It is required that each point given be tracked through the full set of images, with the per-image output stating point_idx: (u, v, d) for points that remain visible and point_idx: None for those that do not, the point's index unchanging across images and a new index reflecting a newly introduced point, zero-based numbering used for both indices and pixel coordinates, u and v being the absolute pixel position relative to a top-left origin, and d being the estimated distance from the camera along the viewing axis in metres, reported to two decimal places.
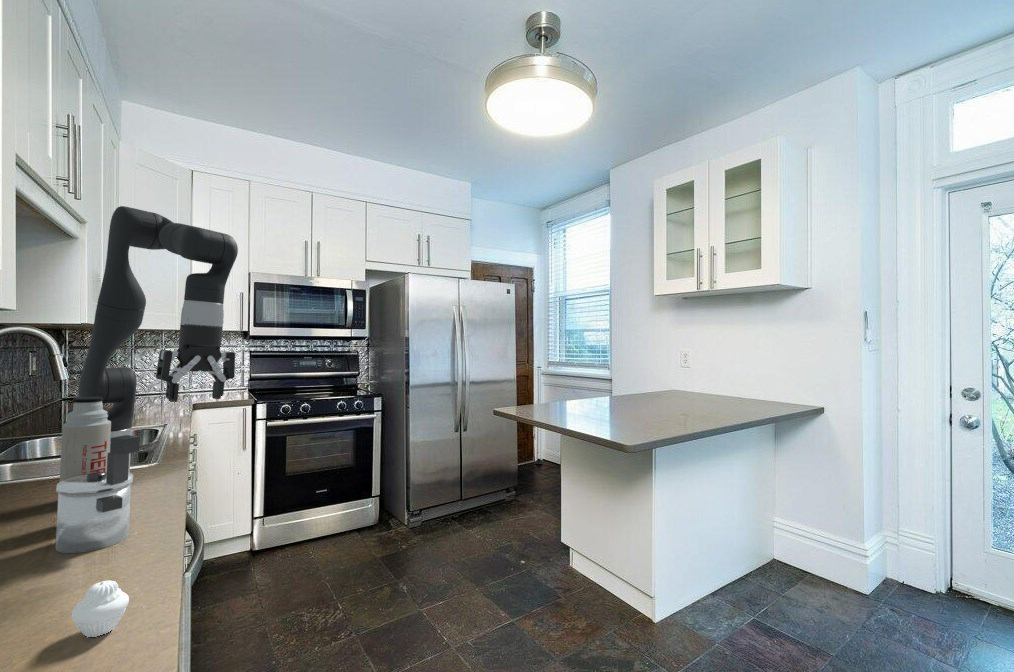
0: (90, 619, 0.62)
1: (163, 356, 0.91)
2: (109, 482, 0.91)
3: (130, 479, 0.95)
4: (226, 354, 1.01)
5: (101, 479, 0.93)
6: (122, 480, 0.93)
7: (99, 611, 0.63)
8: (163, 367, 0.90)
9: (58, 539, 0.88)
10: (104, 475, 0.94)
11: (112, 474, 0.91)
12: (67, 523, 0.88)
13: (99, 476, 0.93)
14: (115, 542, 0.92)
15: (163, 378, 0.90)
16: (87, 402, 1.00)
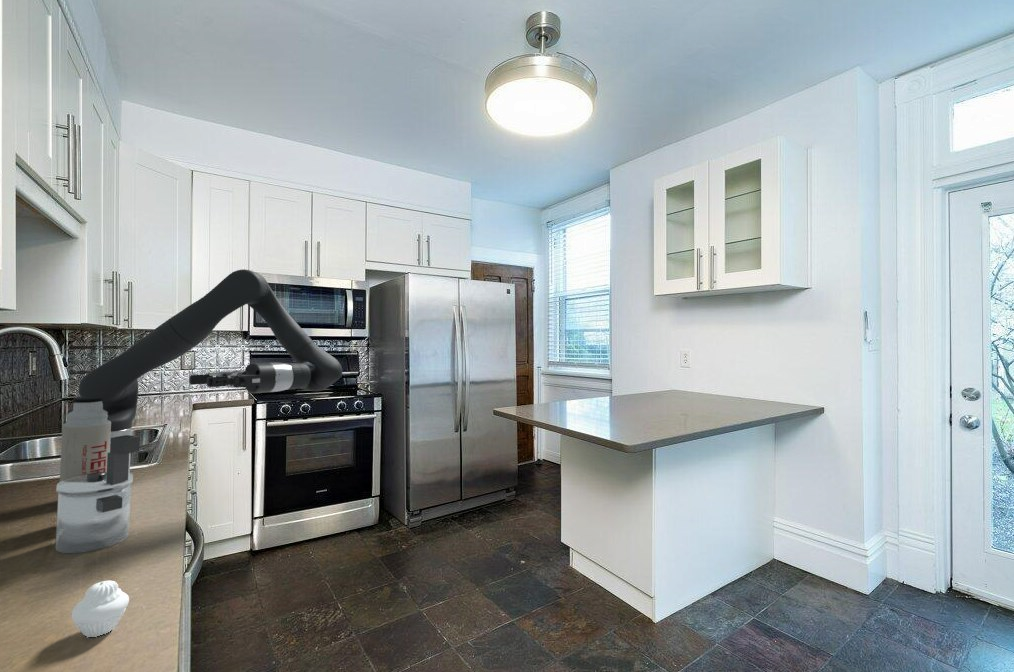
0: (90, 619, 0.62)
1: (255, 382, 1.07)
2: (109, 482, 0.91)
3: (130, 479, 0.95)
4: None
5: (101, 479, 0.93)
6: (122, 480, 0.93)
7: (99, 611, 0.63)
8: (246, 386, 1.06)
9: (58, 539, 0.88)
10: (104, 475, 0.94)
11: (112, 474, 0.91)
12: (67, 523, 0.88)
13: (99, 476, 0.93)
14: (115, 542, 0.92)
15: (236, 387, 1.04)
16: (87, 402, 1.00)
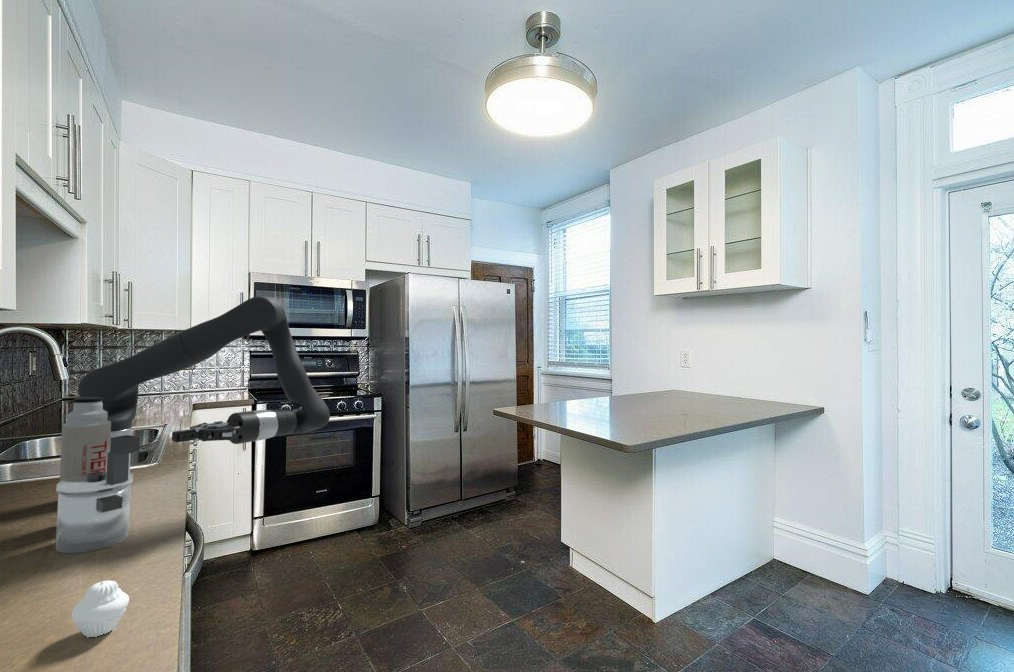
0: (90, 619, 0.62)
1: (224, 436, 1.03)
2: (109, 482, 0.91)
3: (130, 479, 0.95)
4: None
5: (101, 479, 0.93)
6: (122, 480, 0.93)
7: (99, 611, 0.63)
8: (214, 440, 1.02)
9: (58, 539, 0.88)
10: (104, 475, 0.94)
11: (112, 474, 0.91)
12: (67, 523, 0.88)
13: (99, 476, 0.93)
14: (115, 542, 0.92)
15: (204, 440, 1.02)
16: (87, 402, 1.00)
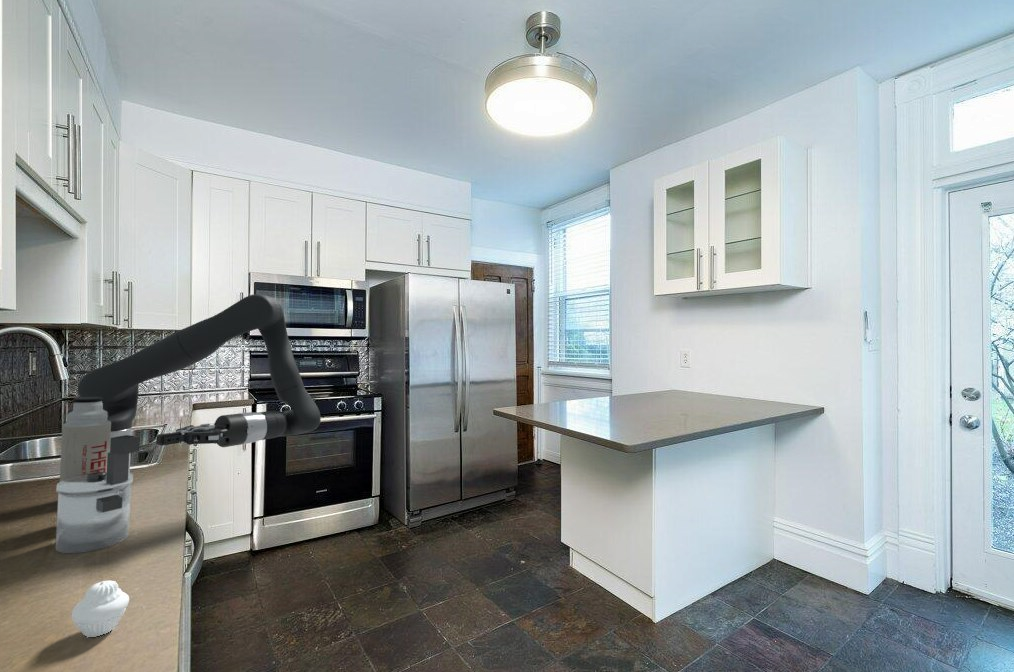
0: (90, 619, 0.62)
1: (211, 439, 1.01)
2: (109, 482, 0.91)
3: (130, 479, 0.95)
4: None
5: (101, 479, 0.93)
6: (122, 480, 0.93)
7: (99, 611, 0.63)
8: (199, 443, 1.00)
9: (58, 539, 0.88)
10: (104, 475, 0.94)
11: (112, 474, 0.91)
12: (67, 523, 0.88)
13: (99, 476, 0.93)
14: (115, 542, 0.92)
15: (190, 444, 1.00)
16: (87, 402, 1.00)
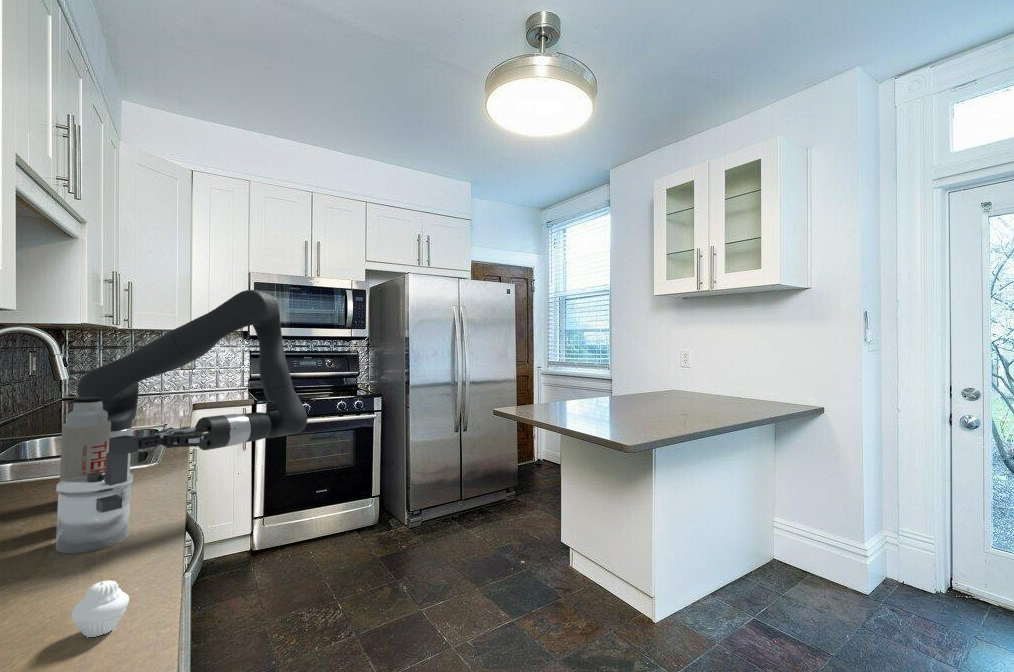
0: (90, 619, 0.62)
1: (191, 442, 0.97)
2: (108, 482, 0.91)
3: (129, 479, 0.95)
4: None
5: (101, 479, 0.93)
6: (121, 480, 0.92)
7: (99, 611, 0.63)
8: (179, 446, 0.96)
9: (58, 539, 0.88)
10: (104, 475, 0.93)
11: (110, 474, 0.91)
12: (67, 523, 0.88)
13: (99, 476, 0.93)
14: (115, 542, 0.92)
15: None
16: (87, 402, 1.00)
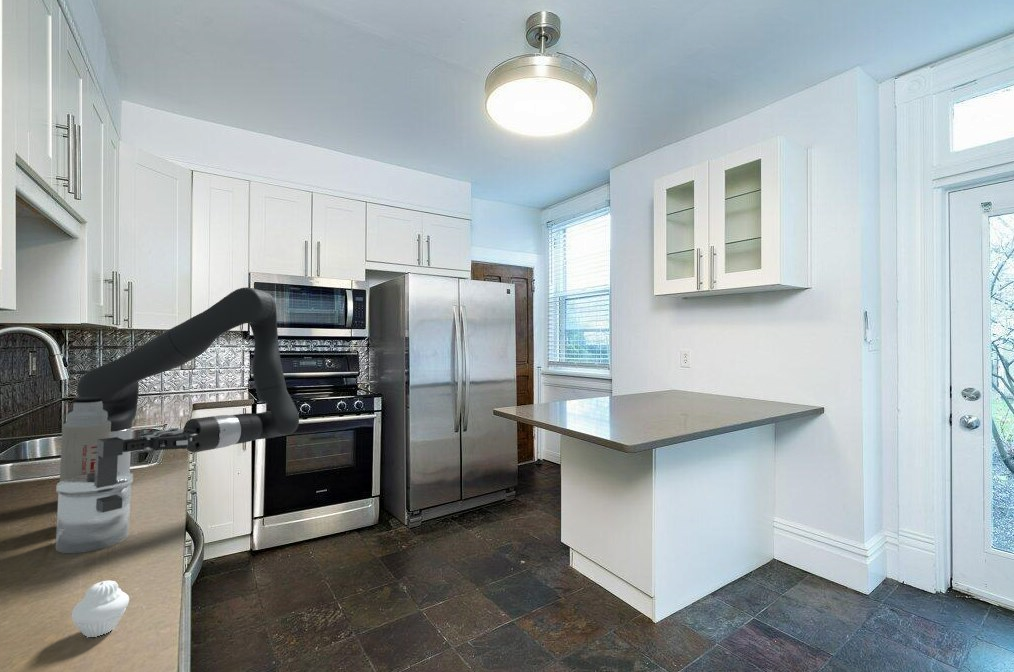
0: (90, 619, 0.62)
1: (179, 445, 0.95)
2: (95, 484, 0.89)
3: (122, 482, 0.93)
4: None
5: None
6: (109, 483, 0.90)
7: (99, 611, 0.63)
8: (167, 449, 0.94)
9: (58, 539, 0.88)
10: None
11: (97, 476, 0.89)
12: (67, 523, 0.88)
13: None
14: (115, 542, 0.92)
15: (156, 449, 0.93)
16: (87, 402, 1.00)
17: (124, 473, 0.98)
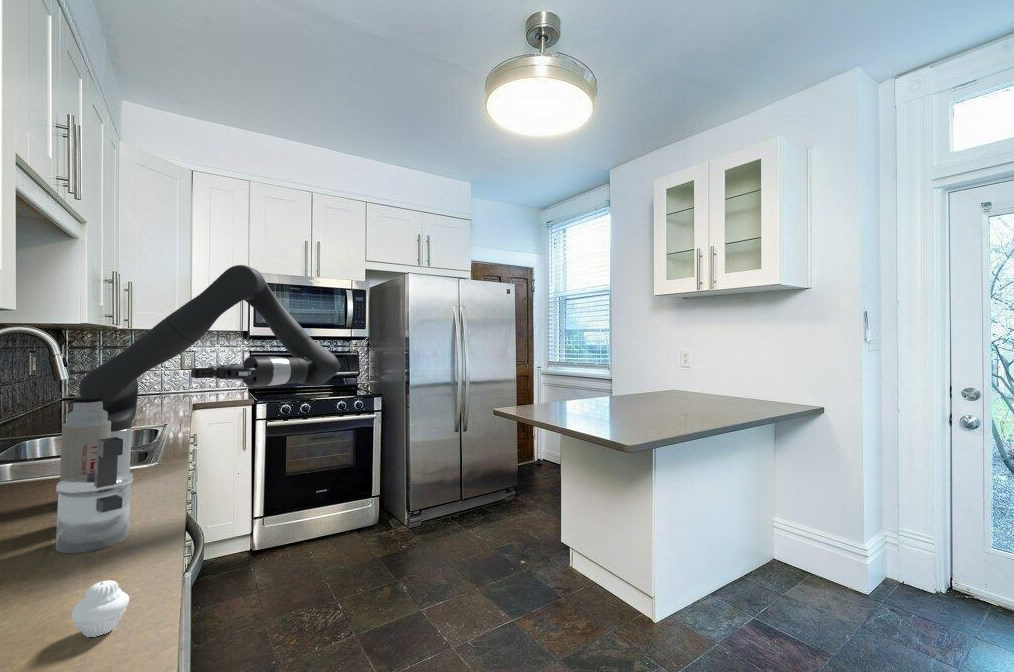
0: (90, 619, 0.62)
1: (241, 375, 1.07)
2: (95, 484, 0.89)
3: (122, 482, 0.93)
4: None
5: None
6: (109, 483, 0.90)
7: (99, 611, 0.63)
8: (230, 378, 1.07)
9: (58, 539, 0.88)
10: None
11: (97, 476, 0.89)
12: (67, 523, 0.88)
13: None
14: (115, 542, 0.92)
15: (221, 378, 1.06)
16: (87, 402, 1.00)
17: (124, 473, 0.98)
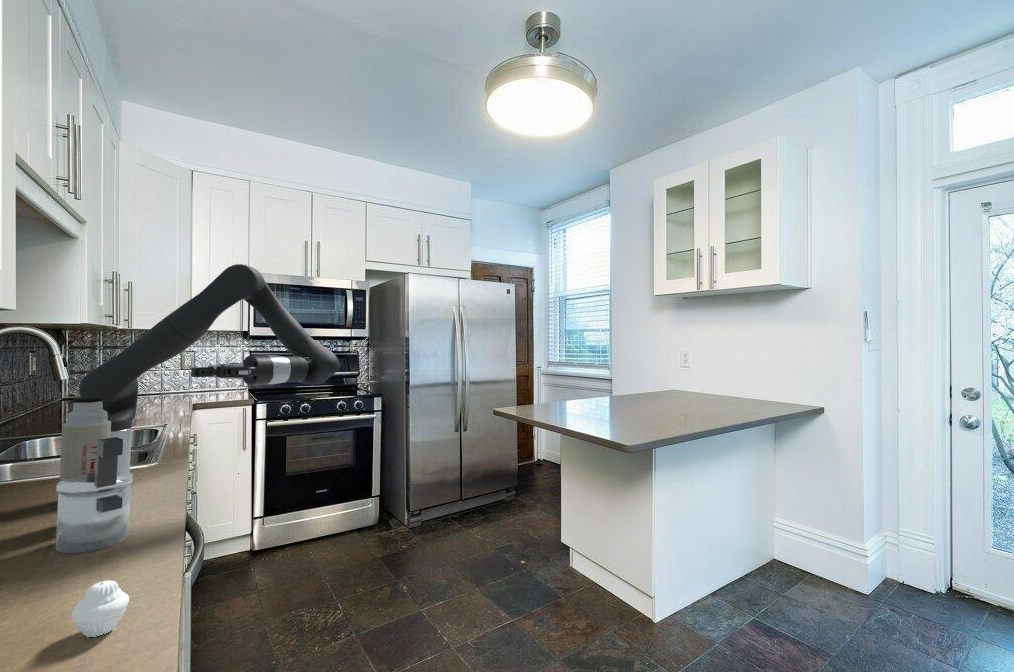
0: (90, 619, 0.62)
1: (241, 374, 1.07)
2: (95, 484, 0.89)
3: (122, 482, 0.93)
4: None
5: None
6: (109, 483, 0.90)
7: (99, 611, 0.63)
8: (231, 377, 1.07)
9: (58, 539, 0.88)
10: None
11: (97, 476, 0.89)
12: (67, 523, 0.88)
13: None
14: (115, 542, 0.92)
15: (221, 377, 1.06)
16: (87, 402, 1.00)
17: (124, 473, 0.98)
